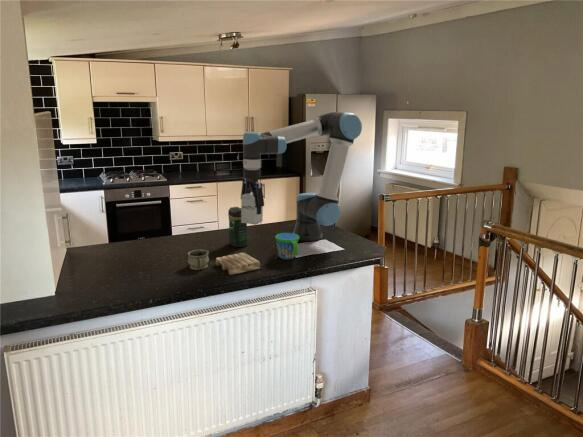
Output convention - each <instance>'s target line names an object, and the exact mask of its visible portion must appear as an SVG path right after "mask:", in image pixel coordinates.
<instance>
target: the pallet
mask: <svg viewBox="0 0 583 437" xmlns="http://www.w3.org/2000/svg"><path fill="white" fill-rule="evenodd" d="M215 265H216V266H217V267H219V266H221V269H222V270H223V271H227V272H228V275H230V276H232V275H236V274H241V273H245V272H250V271H254V270H258V269H261V262H260V260H258V259H256V258H254V257H252V256H251V255H249V254H247V253H246V252H239V253H235V254H229V255H224V256H220V257H219V256H218V257H216V258H215Z"/></svg>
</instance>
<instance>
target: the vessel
mask: <svg viewBox="0 0 583 437" xmlns="http://www.w3.org/2000/svg"><path fill="white" fill-rule="evenodd" d="M187 255H188V256H187V263H188V264H189V269H191V270H195V271H197V270H198V271H199V270H200V269H201V270H204V268H205V269H206V268H208V266H209V265H208V263H209V261H210V259H209V250H206V249H194V250H193V249H192V250H191V251H189V252H187ZM201 270H200V271H201Z"/></svg>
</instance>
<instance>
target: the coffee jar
mask: <svg viewBox="0 0 583 437" xmlns="http://www.w3.org/2000/svg"><path fill="white" fill-rule="evenodd" d="M227 211H228V214H227V216H228V243H229V245H230V246H233V247H235V248H243V247H245V246H247V245H249V244H248V241H249V240H248V238H249V237H248V223H241V207H239V206H233V207H230V208H229V209H228V210H227Z"/></svg>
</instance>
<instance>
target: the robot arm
mask: <svg viewBox="0 0 583 437" xmlns="http://www.w3.org/2000/svg"><path fill="white" fill-rule="evenodd" d="M362 130H363V124H362V121H361V120H360V118H359V116H358V115H357V114H355V113H352V112H340V111H339V112H338V111H332V112H331V111H330V112H327V113H324V114H320V115H317V116H314V117H312V118H311V120H308V121H304V122H300V123H296V124H292V125H288V126H285V127H281V128H277V129H274V130H268V131H265V132H262V133H260V132H258V131H257V132H256V131H247V132H244V133H243V137H242V150H243V151H242V152H243V154H242V155H243V160H242V164H243V166H242V167H243V169H242V174H243V175H242V177H243V178H242V179H241V181H242V182H241V183H242V185H241V193H240V196H241V195H244V194H246V193H253V196H254V197H255V204H256V206H254V207H255V222H258V221H261V207H262V206H263V207H265V200H264V194H263V183H262V182H259V179H260V178H261V177H262V173H261V172H262V170H261V167H262V161H261V160H262V157H261V156H262V155H274V154H275V155H279V154H284V153H285V152H286V150H287V144H290V143H293V142H298V141H301V140H303V139H306V138H307V139H308V138H311V137H314V136H315V137H316V138H317V137H323V136H325V137H326V136H327V137H328V136H329V138H328V139H329V140H330V141H329V142H330V147H329V152H328V156H327V160H326V163H325V167H324V171H323V176H322V178H321V179H322V180H321V183H320V187H319V191H318V192H303V193H300V194H298V195H296V221H295V225H294V229H293V231H292V233H293V234H297V235H298V236H299V240H298V241H302V242H315V241H319V240H321V239H322V238H323V232H322V229H321V225H322V226H325V227H327V226H333V225H334V224H335V223H337V221H338V220H339V218H340V215H341V208H340V205H339V200H340V199H339V198H338V191H339V187H340V185H341V184H340V183H341V180H342V175H343V172H344V167H345V165H346V164H345V163H346V160H347V155H348V152H349V148H350V146H352V145H354V141H355V139H358V137H359V136H360V135H361V134H362Z"/></svg>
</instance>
